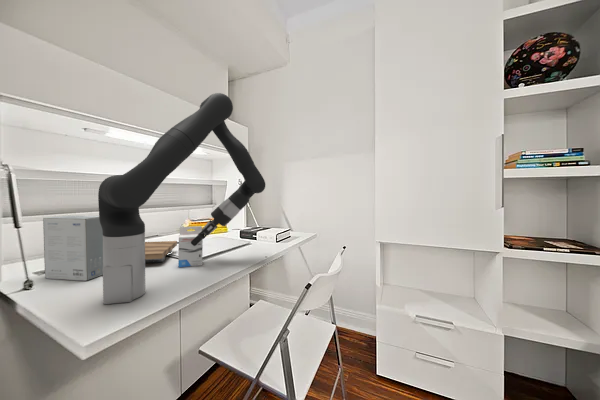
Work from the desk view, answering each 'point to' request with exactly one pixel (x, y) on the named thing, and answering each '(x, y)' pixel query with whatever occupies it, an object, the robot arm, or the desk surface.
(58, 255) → the hard drive box
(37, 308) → the desk surface
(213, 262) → the desk surface
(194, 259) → the ink box
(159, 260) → the rollers
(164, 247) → the slab
